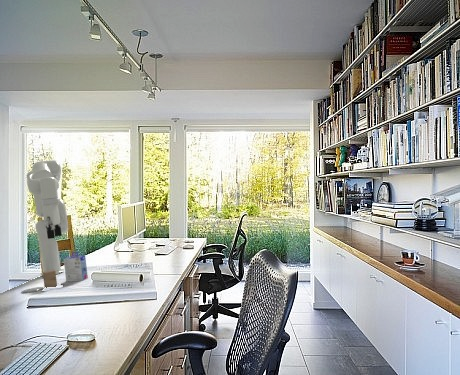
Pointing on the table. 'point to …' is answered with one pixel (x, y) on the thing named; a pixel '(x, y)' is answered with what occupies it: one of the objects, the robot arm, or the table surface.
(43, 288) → the slate coaster
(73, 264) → the ink cartridge box
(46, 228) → the robot arm
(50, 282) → the walnut block
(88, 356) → the table surface
